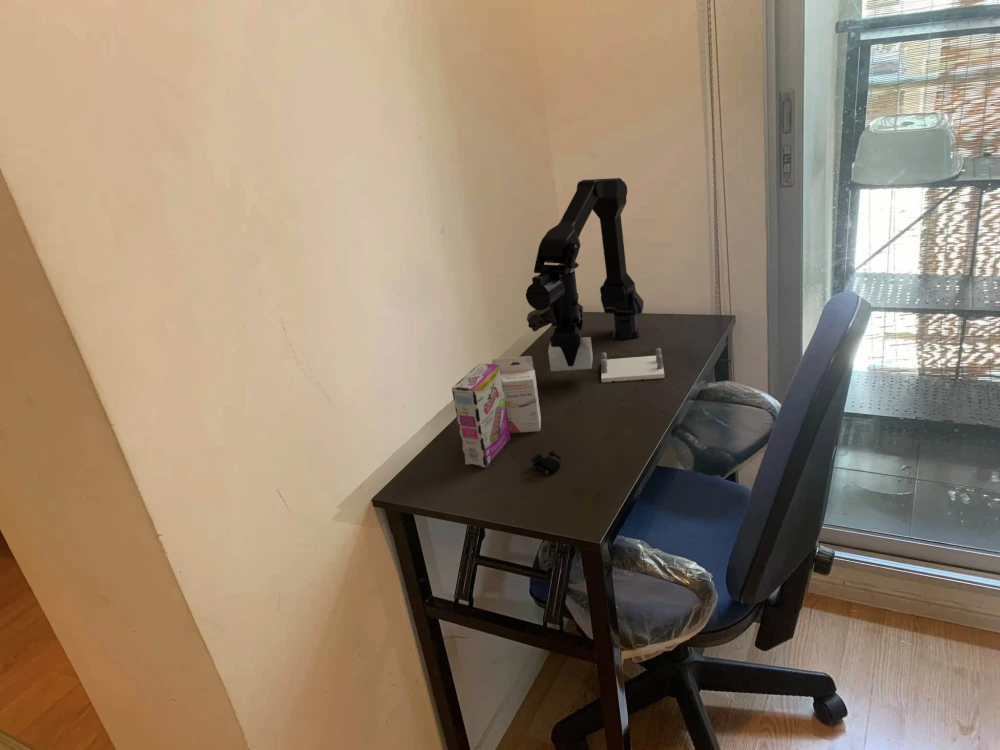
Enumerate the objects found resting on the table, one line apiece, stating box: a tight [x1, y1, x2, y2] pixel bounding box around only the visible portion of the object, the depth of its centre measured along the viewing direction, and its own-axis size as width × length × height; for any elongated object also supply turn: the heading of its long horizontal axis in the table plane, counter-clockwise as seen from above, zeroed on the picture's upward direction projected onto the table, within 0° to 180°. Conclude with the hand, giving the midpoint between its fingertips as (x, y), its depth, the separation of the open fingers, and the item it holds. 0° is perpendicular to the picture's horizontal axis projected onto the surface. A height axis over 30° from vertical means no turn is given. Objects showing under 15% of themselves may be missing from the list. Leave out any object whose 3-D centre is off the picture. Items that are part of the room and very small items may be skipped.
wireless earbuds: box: [530, 450, 563, 475], centre depth 126 cm, size 7×2×5 cm
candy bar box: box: [451, 363, 511, 469], centre depth 131 cm, size 11×5×16 cm, turn 155°
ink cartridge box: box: [491, 355, 542, 434], centre depth 138 cm, size 9×5×15 cm, turn 84°
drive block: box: [547, 336, 594, 372], centre depth 154 cm, size 6×9×5 cm, turn 80°
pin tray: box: [600, 347, 665, 383], centre depth 156 cm, size 10×14×4 cm
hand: (571, 359), depth 155 cm, fingers closed on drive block, 6 cm apart
